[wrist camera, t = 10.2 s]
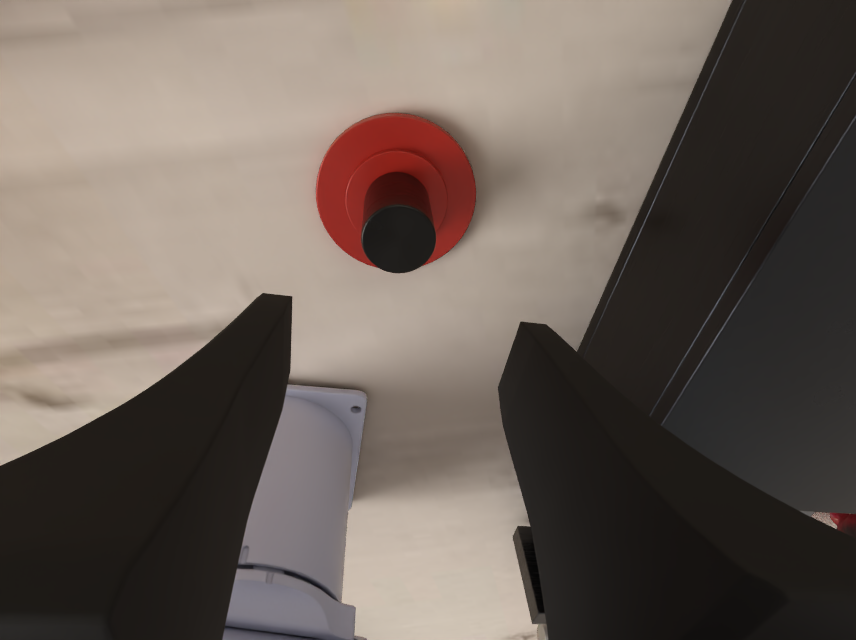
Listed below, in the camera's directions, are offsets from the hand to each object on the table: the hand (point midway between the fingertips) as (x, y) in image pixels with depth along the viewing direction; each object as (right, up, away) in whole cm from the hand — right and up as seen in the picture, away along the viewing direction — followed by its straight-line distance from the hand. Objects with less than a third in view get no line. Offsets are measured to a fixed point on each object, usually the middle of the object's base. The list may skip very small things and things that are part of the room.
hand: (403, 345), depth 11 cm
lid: (-1, +5, +8) cm, 9 cm away
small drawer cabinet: (+15, +4, +10) cm, 19 cm away
